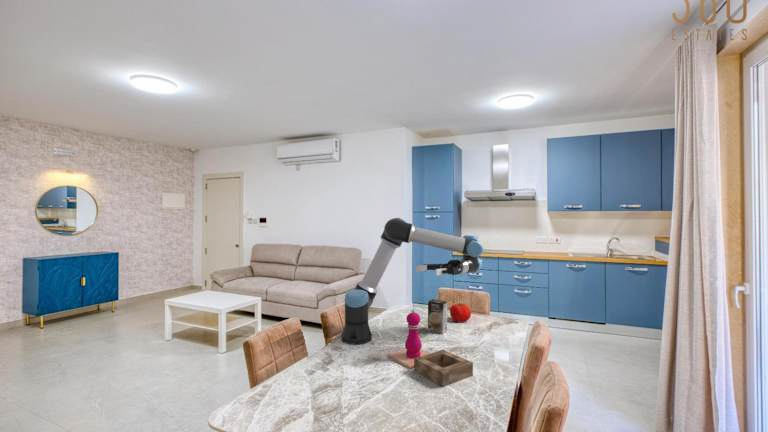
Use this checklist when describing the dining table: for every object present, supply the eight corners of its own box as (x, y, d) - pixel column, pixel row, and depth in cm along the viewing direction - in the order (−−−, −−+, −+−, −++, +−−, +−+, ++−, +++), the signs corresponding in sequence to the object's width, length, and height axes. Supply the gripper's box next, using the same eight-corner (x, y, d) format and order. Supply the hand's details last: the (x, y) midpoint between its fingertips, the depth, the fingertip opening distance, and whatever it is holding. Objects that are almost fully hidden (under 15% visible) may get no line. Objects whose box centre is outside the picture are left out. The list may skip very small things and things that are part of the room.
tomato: (453, 316, 215) (453, 300, 215) (473, 320, 207) (473, 303, 207) (445, 321, 206) (445, 303, 206) (466, 325, 198) (466, 307, 198)
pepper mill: (420, 359, 147) (421, 312, 147) (403, 358, 149) (403, 311, 149) (422, 353, 154) (422, 307, 155) (406, 351, 156) (406, 306, 156)
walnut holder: (414, 370, 139) (414, 358, 139) (442, 361, 148) (443, 349, 148) (443, 387, 126) (443, 373, 126) (472, 375, 135) (472, 362, 135)
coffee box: (427, 331, 187) (427, 301, 188) (432, 328, 193) (432, 298, 193) (443, 334, 183) (443, 303, 183) (447, 331, 188) (447, 301, 188)
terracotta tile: (387, 356, 154) (387, 353, 154) (415, 348, 163) (415, 346, 163) (410, 369, 140) (410, 366, 140) (439, 359, 150) (439, 357, 150)
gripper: (477, 277, 166) (445, 282, 154) (439, 271, 187) (408, 274, 174) (477, 262, 166) (445, 265, 154) (439, 257, 187) (408, 259, 174)
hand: (425, 270), depth 164 cm, fingers open, 13 cm apart
